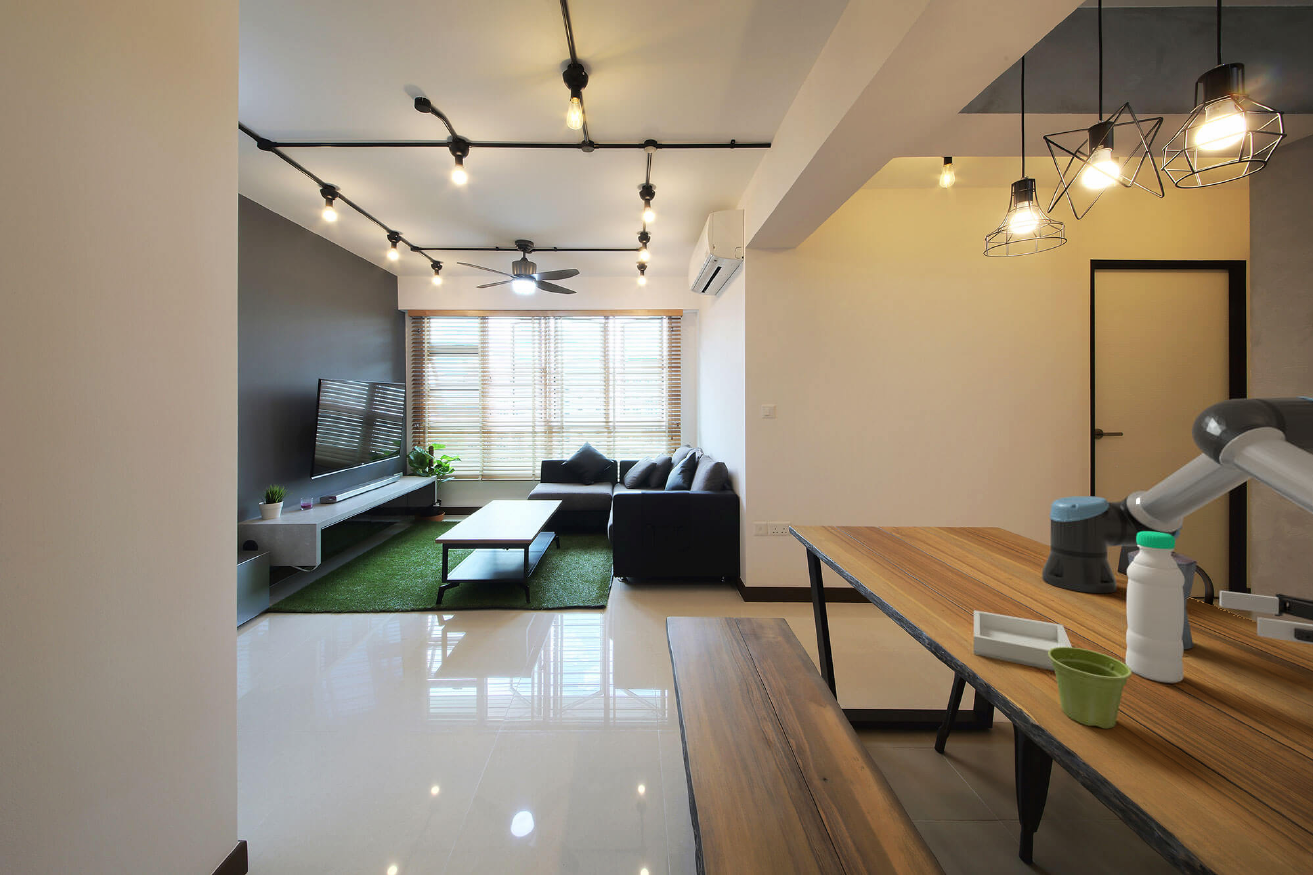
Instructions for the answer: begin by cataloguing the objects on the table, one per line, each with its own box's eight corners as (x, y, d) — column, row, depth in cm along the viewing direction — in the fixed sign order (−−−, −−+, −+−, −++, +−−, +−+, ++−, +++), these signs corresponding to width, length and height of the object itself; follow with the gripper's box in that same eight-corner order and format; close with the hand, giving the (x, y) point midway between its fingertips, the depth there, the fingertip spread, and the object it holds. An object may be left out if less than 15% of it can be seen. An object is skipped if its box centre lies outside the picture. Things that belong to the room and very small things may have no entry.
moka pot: (1127, 645, 96) (1128, 545, 95) (1125, 621, 107) (1126, 531, 106) (1199, 660, 89) (1201, 553, 89) (1189, 633, 101) (1190, 538, 100)
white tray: (973, 625, 106) (973, 610, 106) (1062, 642, 98) (1062, 624, 98) (973, 653, 93) (973, 636, 93) (1075, 675, 85) (1075, 655, 85)
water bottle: (1195, 686, 81) (1197, 538, 80) (1145, 682, 82) (1147, 537, 82) (1160, 665, 88) (1162, 529, 87) (1115, 662, 89) (1117, 528, 89)
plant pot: (1109, 744, 67) (1110, 683, 67) (1034, 708, 76) (1034, 653, 76) (1144, 726, 71) (1145, 668, 71) (1068, 693, 80) (1069, 642, 79)
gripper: (1552, 713, 57) (1277, 666, 69) (1399, 634, 78) (1207, 609, 90) (1555, 651, 57) (1278, 615, 69) (1400, 588, 78) (1207, 569, 90)
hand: (1237, 611), depth 79 cm, fingers open, 13 cm apart
